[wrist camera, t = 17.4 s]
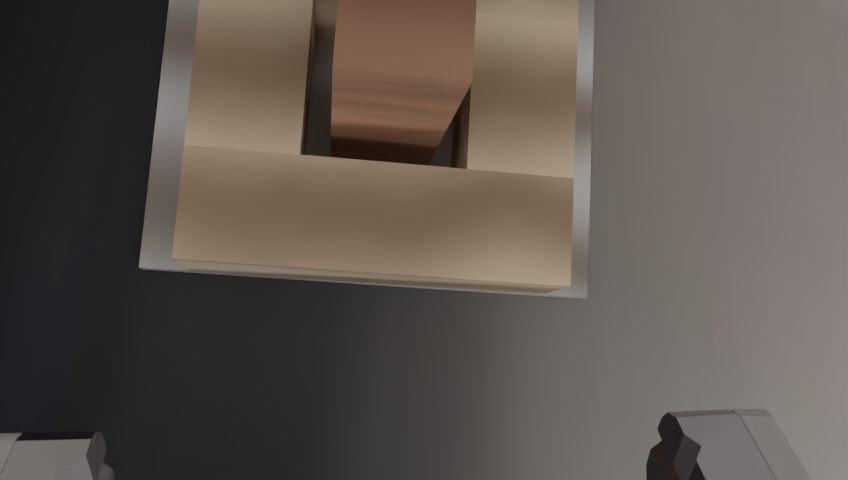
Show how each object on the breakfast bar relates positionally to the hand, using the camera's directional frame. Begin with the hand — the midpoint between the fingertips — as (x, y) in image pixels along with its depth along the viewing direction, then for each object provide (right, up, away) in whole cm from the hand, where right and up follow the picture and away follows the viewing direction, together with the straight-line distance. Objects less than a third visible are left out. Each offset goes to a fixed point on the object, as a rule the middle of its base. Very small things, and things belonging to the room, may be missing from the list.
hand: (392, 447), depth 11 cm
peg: (-1, +8, +21) cm, 22 cm away
